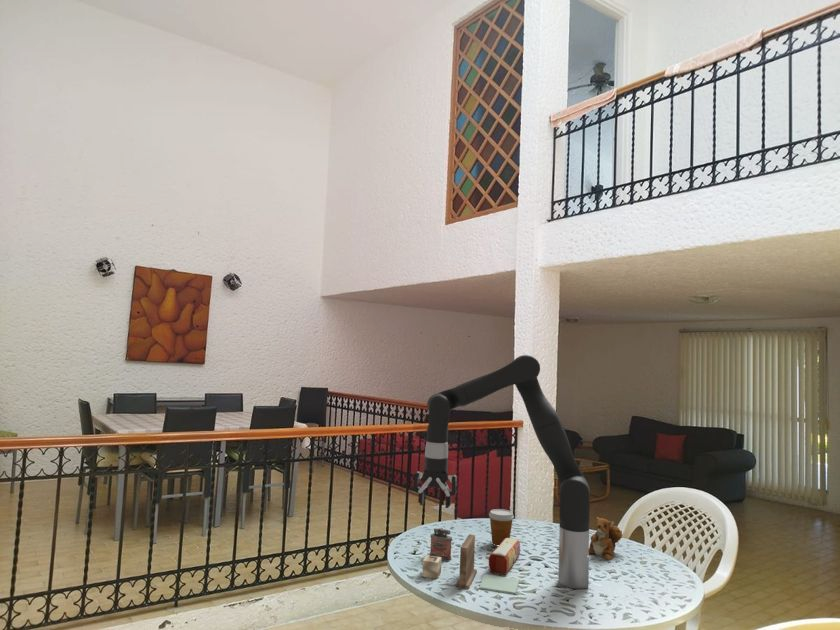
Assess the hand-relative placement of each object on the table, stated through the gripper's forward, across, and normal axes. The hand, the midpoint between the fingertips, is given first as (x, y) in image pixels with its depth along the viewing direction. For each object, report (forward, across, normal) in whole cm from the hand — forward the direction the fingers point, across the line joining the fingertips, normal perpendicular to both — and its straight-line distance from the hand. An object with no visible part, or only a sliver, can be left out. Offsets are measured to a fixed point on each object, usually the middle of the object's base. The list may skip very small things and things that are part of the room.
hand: (434, 506), depth 182 cm
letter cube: (+22, 0, 0) cm, 22 cm away
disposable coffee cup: (+22, -17, -39) cm, 48 cm away
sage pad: (+22, -22, 0) cm, 31 cm away
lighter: (+22, +1, -16) cm, 27 cm away
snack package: (+22, -21, -19) cm, 36 cm away
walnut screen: (+22, -12, 0) cm, 24 cm away
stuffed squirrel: (+22, -55, -44) cm, 74 cm away
